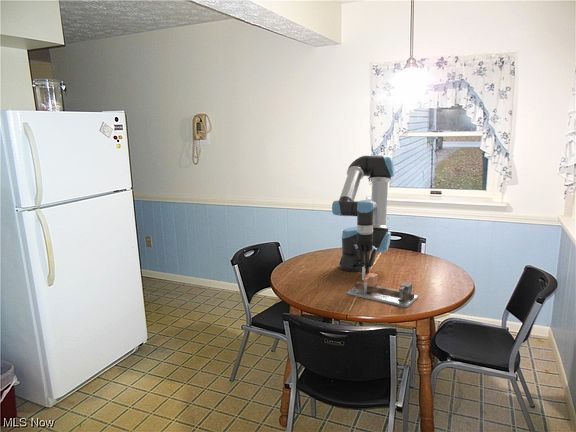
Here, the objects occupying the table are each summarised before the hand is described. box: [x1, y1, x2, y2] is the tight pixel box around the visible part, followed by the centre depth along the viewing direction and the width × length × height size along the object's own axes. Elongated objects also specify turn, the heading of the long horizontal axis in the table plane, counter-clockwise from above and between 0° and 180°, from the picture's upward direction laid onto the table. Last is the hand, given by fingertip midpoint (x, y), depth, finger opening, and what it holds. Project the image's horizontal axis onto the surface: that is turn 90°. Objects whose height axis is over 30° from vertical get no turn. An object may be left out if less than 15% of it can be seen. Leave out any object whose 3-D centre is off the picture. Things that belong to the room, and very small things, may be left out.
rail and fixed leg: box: [355, 281, 416, 301], centre depth 201 cm, size 29×9×6 cm, turn 53°
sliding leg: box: [363, 272, 379, 292], centre depth 205 cm, size 5×9×7 cm, turn 143°
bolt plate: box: [346, 285, 419, 309], centre depth 202 cm, size 30×13×1 cm, turn 53°
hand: (364, 279), depth 209 cm, fingers closed
